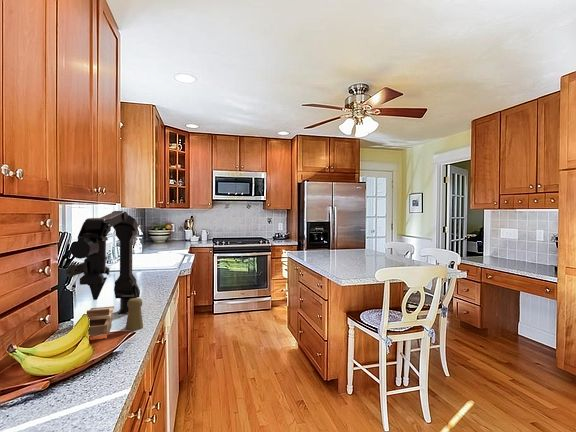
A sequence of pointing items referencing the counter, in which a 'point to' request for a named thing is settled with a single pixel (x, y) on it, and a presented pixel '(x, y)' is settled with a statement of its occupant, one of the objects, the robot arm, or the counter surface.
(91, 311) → the lid
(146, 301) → the counter surface
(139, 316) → the brown bottle
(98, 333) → the toolbox
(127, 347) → the counter surface
